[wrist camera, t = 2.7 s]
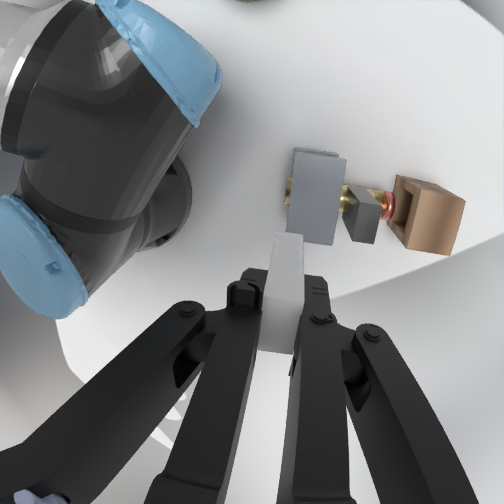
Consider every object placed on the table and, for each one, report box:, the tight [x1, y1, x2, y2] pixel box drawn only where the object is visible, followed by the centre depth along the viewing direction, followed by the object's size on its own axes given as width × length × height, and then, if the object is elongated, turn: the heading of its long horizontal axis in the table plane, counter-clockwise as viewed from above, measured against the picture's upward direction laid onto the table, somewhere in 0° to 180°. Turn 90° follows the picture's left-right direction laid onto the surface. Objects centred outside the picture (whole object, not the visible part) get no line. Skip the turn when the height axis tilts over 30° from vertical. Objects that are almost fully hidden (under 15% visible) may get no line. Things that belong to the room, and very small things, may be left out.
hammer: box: [284, 177, 396, 244], centre depth 27 cm, size 12×4×10 cm, turn 86°
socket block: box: [387, 175, 466, 256], centre depth 29 cm, size 6×6×8 cm
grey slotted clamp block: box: [286, 147, 346, 246], centre depth 31 cm, size 5×9×7 cm, turn 176°
